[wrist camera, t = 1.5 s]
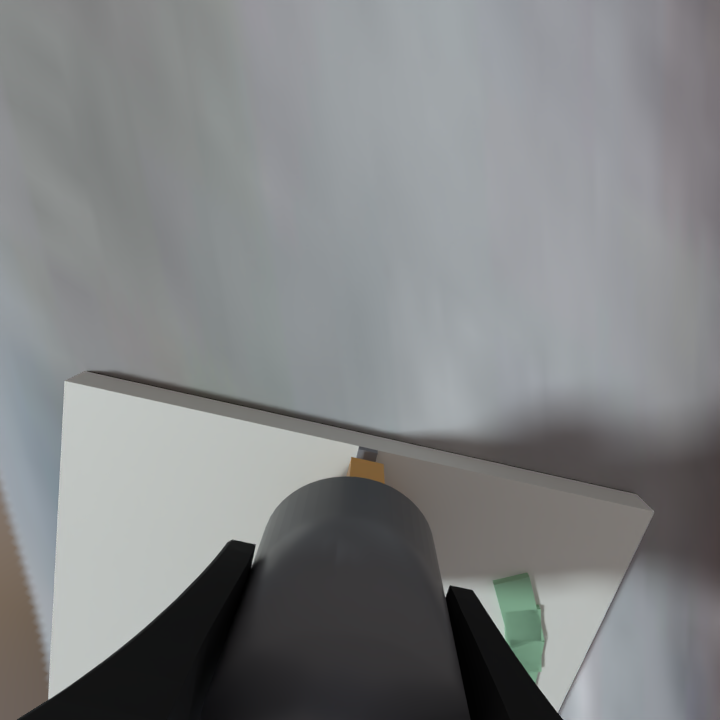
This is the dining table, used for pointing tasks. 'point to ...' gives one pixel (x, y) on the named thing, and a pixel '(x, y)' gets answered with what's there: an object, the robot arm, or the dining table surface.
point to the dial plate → (276, 482)
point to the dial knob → (341, 613)
